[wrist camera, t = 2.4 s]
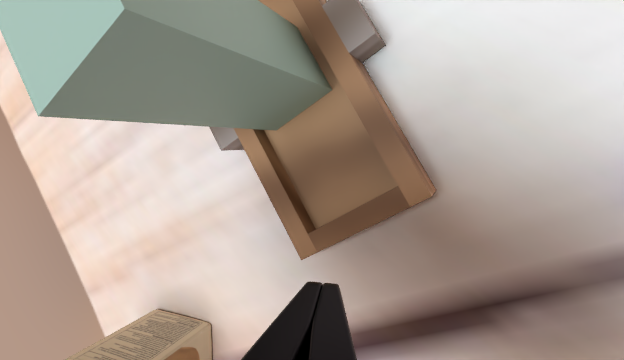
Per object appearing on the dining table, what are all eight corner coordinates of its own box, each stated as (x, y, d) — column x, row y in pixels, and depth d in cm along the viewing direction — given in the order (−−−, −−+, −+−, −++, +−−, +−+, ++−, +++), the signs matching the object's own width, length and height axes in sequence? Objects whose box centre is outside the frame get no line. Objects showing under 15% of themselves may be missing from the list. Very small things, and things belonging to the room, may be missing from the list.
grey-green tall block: (332, 89, 19) (124, 8, 8) (276, 130, 21) (38, 116, 9) (297, 26, 20) (50, -141, 8) (245, 72, 22) (-18, -11, 10)
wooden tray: (463, 176, 18) (463, 181, 16) (299, 257, 23) (279, 271, 20) (292, -112, 20) (269, -145, 18) (175, 16, 25) (145, 4, 23)
